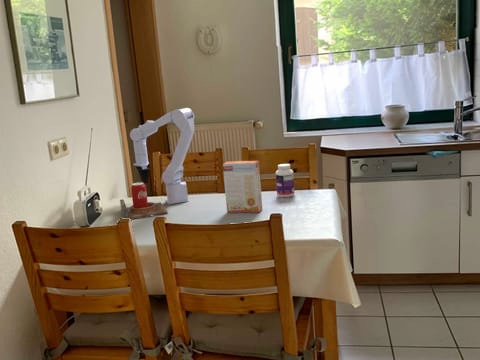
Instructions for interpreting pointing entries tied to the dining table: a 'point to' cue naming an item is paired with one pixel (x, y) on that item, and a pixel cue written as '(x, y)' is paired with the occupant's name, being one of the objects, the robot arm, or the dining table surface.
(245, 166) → the cracker box
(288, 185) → the pill bottle
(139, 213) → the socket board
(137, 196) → the beverage can
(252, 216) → the dining table surface
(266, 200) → the dining table surface
